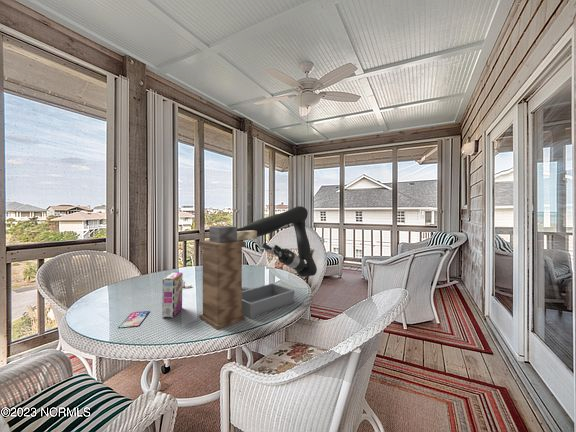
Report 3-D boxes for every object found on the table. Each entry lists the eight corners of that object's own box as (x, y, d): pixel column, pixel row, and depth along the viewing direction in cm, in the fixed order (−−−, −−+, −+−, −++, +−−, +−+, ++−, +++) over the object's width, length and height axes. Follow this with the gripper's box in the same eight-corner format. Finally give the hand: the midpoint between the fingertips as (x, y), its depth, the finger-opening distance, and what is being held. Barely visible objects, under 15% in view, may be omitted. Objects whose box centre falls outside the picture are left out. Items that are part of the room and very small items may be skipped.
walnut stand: (216, 329, 98) (216, 244, 97) (199, 317, 108) (199, 241, 107) (245, 319, 108) (245, 241, 106) (226, 309, 118) (226, 238, 116)
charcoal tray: (250, 318, 108) (250, 304, 108) (229, 307, 120) (229, 294, 119) (294, 302, 126) (294, 290, 126) (272, 294, 138) (272, 283, 138)
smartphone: (117, 328, 98) (131, 312, 113) (117, 329, 99) (131, 313, 113) (139, 325, 100) (150, 310, 115) (139, 327, 100) (150, 312, 115)
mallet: (219, 243, 102) (219, 227, 101) (209, 241, 107) (209, 226, 107) (260, 239, 116) (260, 225, 115) (249, 237, 121) (249, 224, 121)
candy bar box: (174, 318, 108) (174, 278, 108) (162, 318, 108) (161, 278, 107) (183, 307, 119) (182, 271, 119) (171, 307, 119) (171, 272, 118)
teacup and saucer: (193, 287, 150) (193, 280, 150) (181, 291, 143) (181, 283, 143) (184, 285, 155) (184, 278, 155) (172, 288, 148) (172, 281, 148)
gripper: (282, 250, 141) (262, 237, 131) (301, 253, 131) (281, 239, 120) (277, 263, 138) (256, 250, 128) (296, 267, 128) (275, 254, 118)
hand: (268, 245), depth 124 cm, fingers open, 8 cm apart
